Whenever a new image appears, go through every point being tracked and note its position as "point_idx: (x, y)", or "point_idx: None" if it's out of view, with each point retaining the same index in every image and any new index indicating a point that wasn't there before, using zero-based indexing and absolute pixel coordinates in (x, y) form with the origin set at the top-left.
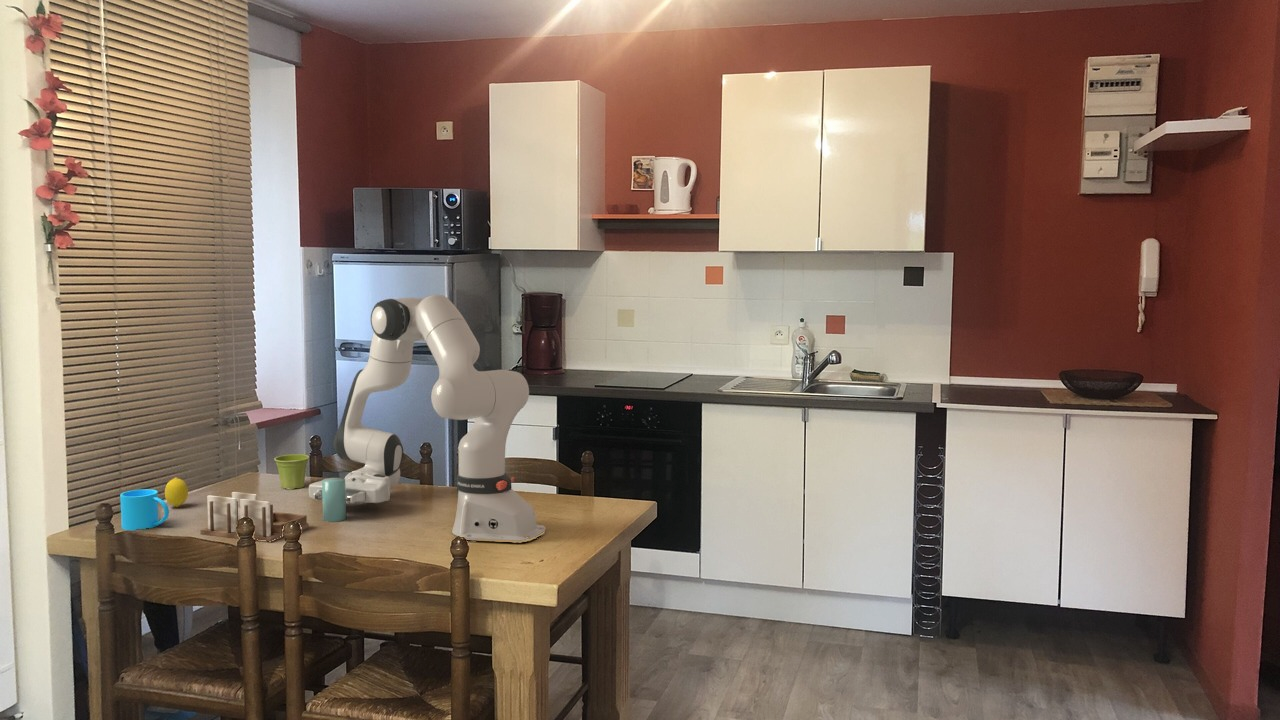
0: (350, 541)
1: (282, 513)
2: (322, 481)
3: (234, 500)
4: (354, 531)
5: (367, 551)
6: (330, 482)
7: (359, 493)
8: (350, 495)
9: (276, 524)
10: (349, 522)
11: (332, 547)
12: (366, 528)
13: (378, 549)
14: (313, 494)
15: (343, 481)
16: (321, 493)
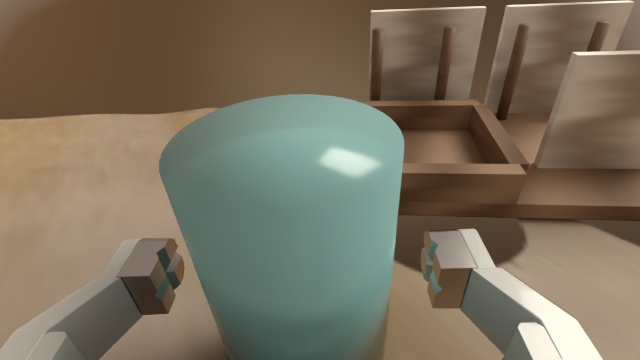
0: (142, 156)
1: (473, 166)
2: (358, 103)
3: (506, 11)
4: (143, 220)
5: (90, 126)
6: (269, 97)
7: (56, 305)
8: (143, 247)
9: (371, 102)
10: (195, 321)
11: (182, 125)
12: (93, 260)
13: (60, 137)
14: (469, 230)
15: (171, 146)
16: (437, 268)
